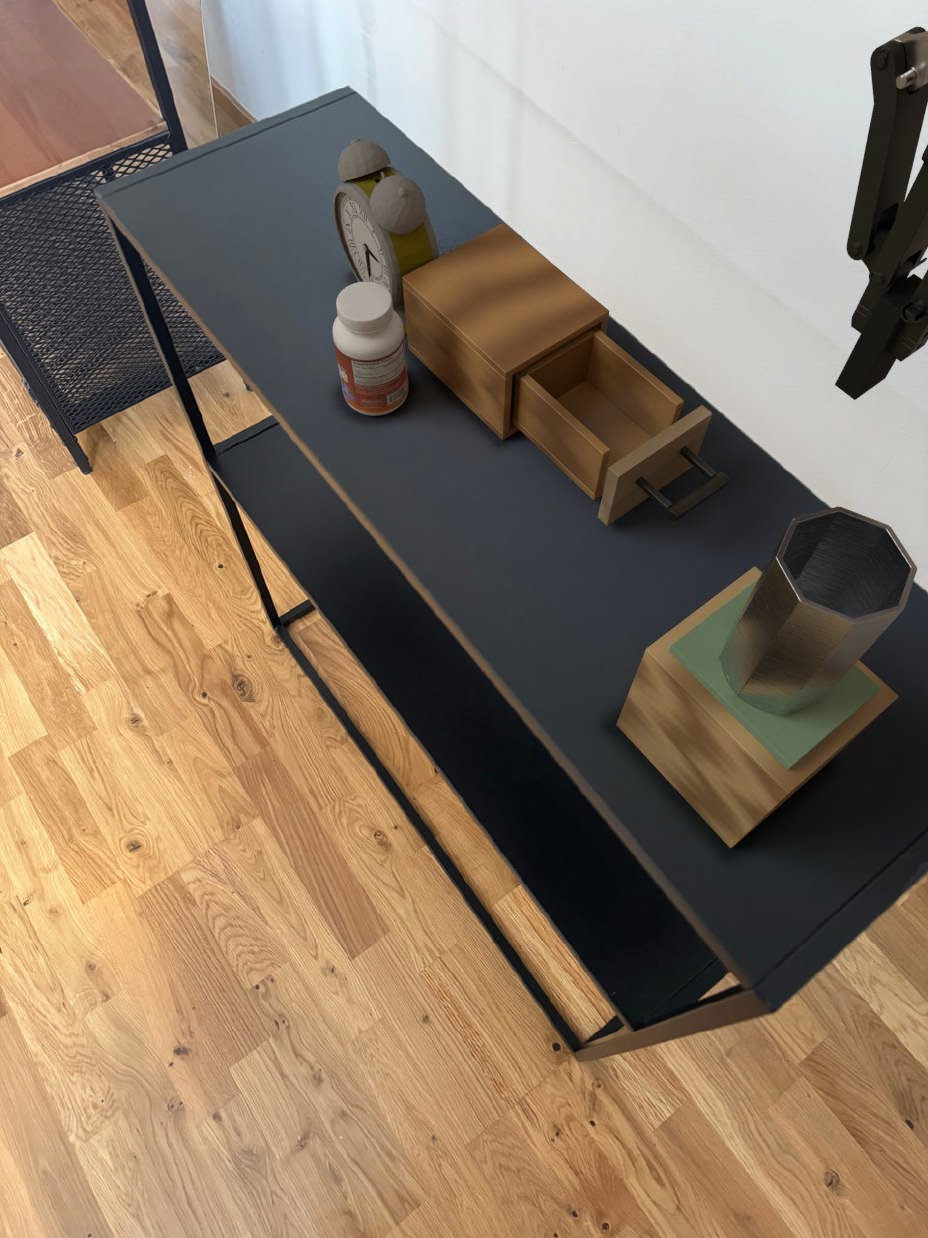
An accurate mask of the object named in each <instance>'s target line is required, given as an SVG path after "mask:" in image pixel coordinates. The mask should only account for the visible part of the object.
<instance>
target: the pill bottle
mask: <svg viewBox="0 0 928 1238" xmlns="http://www.w3.org/2000/svg"><path fill="white" fill-rule="evenodd" d="M335 305H336V306H335V307H336V312H337V313H336V314H337V316H336V317H335V319H334V321H333V325H332V339H333V345H334V350H335V357H336V361H337V367H338V373H339V379H340V383H341V389H342V390H341V391H342V393H343V398H344V399H345V402H346V404H347V405H348V406H349V407H350V408H351V409H352V410H354V411H355V412H357V413H359V414H361V415H365V416H373V417H376V416H384V415H387V414H390V413H392V412H394V411H396V410H397V409H399V408H400V407H401V406H402V405H403V404H404V403H405V401H406V399H407V397H408V393H409V378H408V376H409V375H408V365H407V354H406V342H405V334H404V330H403V324H402V321H401V319H400V317H399V315H398V314H397V313H396V312H395V310H394V308H393V304H392V297H391V295H390V293H389V291H388V290H387V289H386V288H385V287H383V286H382V285H380V284H377V283H374V282H358V281H357V282H354V283H352V284H349V285H347V286H345V287H344V288H343V289H342V290H341V291H339V293H338V295H337V297H336V304H335Z"/></svg>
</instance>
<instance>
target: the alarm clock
mask: <svg viewBox="0 0 928 1238" xmlns="http://www.w3.org/2000/svg"><path fill="white" fill-rule="evenodd" d="M337 163H338V164H337V175H338V179H339V181H342V183H340V184H339V185H337V187H336V189H335V191H334V193H333V200H332V209H333V210H332V211H333V218H334V222H335V223H334V224H335V227H336V232H337V236H338V240H339V242H340V245H341V248H342V251H343V253H344V256H345V258H346V261H347V263H348V265H349V267H350V269H351V272H352V273H353V275H354V277H355V278H356V280H357V283H358V282H374V283H377V284H380V285H382V286H383V287H385V288H386V289H387V290H388V291H389V293H390V295H391V297H392V304H393V310H394V311H395V312H396V313H397V314H398V315H399V317H400V319H401V321H402V324H403V330H404V335H407V328H406V316H405V305H404V293H403V281H402V277H403V276H405V275H407V274H409V273H410V272H412V271H414V270H416V269H418V268H420V267H422V266H424V265H425V264H427V263H429V262H431V261H433V260H435V259H437V258H438V257H440V252H439V247H438V241H437V237H436V234H435V230H434V226H433V224H432V222H431V218H430V216H429V213H428V210H427V204H426V198H425V195H424V192H423V191H422V188H421V187H420V186H419V185H418V184H417V183H416V181H414V180H413V179H411V178H409V177H407V176H406V175H404V174H403V173H402V172H401V171H400V170H398V169H396V168H394V167H393V166H389V165H390V164H391V163H392V162H391V159H390V156H389V155H388V153H387V151H386V150H385V149H384V148H383V147H382V146H380V145H379V144H378V143H377V142H374V141H372V140H368V139H360V138H358V137H354V138H353V139H352V140H351V142H350V144H348V145H347V146H346V147H345V148H344V149H343V150H342V151H341V154H340V156H339V159H338V162H337Z"/></svg>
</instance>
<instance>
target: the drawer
mask: <svg viewBox="0 0 928 1238" xmlns="http://www.w3.org/2000/svg"><path fill="white" fill-rule="evenodd" d="M684 402H685V401H684V399H682V397H680V396H679V395H678V394H676V393H675V392H674V391H673V390H672V389H671V388H669V387H668V386H667V385H666V384H665V383H664V382H662V381H661V380H660V379H659V378H658V377H656V376H655V374H653V373H651V372H650V370H648V369H647V368H646V367H644V365H642V364H641V363H640V362H639V361H638V360H636V359H635V358H634V357H632V356H631V355H630V354H629V353H628V352H627V351H626V350H624V348H622V347H621V346H620V345H618V344H617V343H616V342H614V340H613V339H611V338H610V337H609V336H608V335H607V334H604V333H603V332H602V331H601V330H599V329H598V328H597V327H596V326H594V327H592V328H590V329H589V330H587V331H585V332H584V333H582V334H580V335H579V336H577V337H575V338H574V339H572V340H570V341H569V342H567V343H565V344H564V345H562V346H560V347H559V348H557V349H555V350H554V351H552V352H550V353H549V354H547V355H545V356H544V357H542V358H540V359H539V360H537V361H536V362H534V363H532V364H531V365H529V366H527V367H526V368H524V369H522V370H521V371H519V372H517V373H516V374H515V388H514V404H513V424H514V425H515V426H516V427H517V428H518V429H519V431H520V432H521V433H522V434H523V435H524V436H525V437H526V438H527V439H529V440H530V441H531V442H532V444H534V445H535V446H536V448H538V449H539V450H540V451H541V452H542V453H543V454H544V455H545V456H546V457H547V458H548V459H549V460H550V461H551V462H553V463H554V464H555V465H556V467H558V468H559V469H560V470H561V471H562V472H563V473H564V474H565V475H566V476H567V477H568V478H569V479H571V481H572V482H573V483H575V485H577V486H578V488H580V489H581V490H582V491H583V492H584V493H585V494H586V495H587V496H588V497H589V498H590V499H591V500H592V501H595V500H597V499H598V498H600V497H601V500H600V503H599V504H600V505H599V508H598V510H599V511H598V514H597V518H598V519H599V520H600V521H601V522H602V523H603V524H604V525H605V526H606V527H608V526H609V525H610V524H612V523H614V522H615V521H616V520H618V519H619V518H621V517H622V516H623V515H626V514H627V513H628V512H629V511H632V509H634V508H635V507H637V506H638V505H639V504H641V503H642V502H644V501H645V500H646V499H648V498H650V499H652V501H654V502H655V503H656V504H657V505H658V506H660V508H661V509H663V510H664V513H665V517H666V519H667V520H668V521H669V522H670V523H676V522H678V521H679V520H680V519H682V518H683V517H685V516H686V515H687V514H689V513H690V512H691V511H693V510H694V509H696V508H698V506H700V505H701V504H703V503H704V502H706V501H707V500H709V499H710V498H711V497H712V496H714V495H715V494H717V493H718V492H720V491H721V490H722V489H724V488H725V487H726V486H728V485H729V483H730V479H729V477H728V475H727V474H726V473H724V472H722V471H720V472H717V471H716V470H714V469H713V468H712V467H711V466H710V465H709V464H707V463H706V462H705V461H704V460H703V459H702V458H700V457H699V456H698V455H699V452H700V450H701V448H702V445H703V442H704V439H705V436H706V433H707V430H708V427H709V425H710V422H711V420H712V416H713V412H711V410H709V409H708V408H707V407H706V406H704V405H703V404H701V405H700V406H698V407H697V408H695V409H693V410H692V411H691V412H689V413H688V414H686V415H685V416H683V417H682V418H680V415H681V412H682V409H683V405H684ZM679 418H680V419H679ZM693 467H694V468H695V469H696V470H698V472H700V473H701V474H702V475H703V476H705V478H707V479H708V480H707V481H705V482H704V483H702V484H701V485H699V486H698V487H697V488H695V489H694V490H692V491H691V492H689V493H688V494H686V495H685V496H684V497H683V498H681V499H680V500H678V501H677V502H675V503H674V504H673V503H672V502H671V501H670V500H669V499H667V497H665V496H664V495H663V494H662V493H661V492H660V490H661V489H662V488H664V487H666V486H667V485H668V484H670V483H671V482H672V481H674V480H676V479H677V478H678V477H679V476H682V475H683V474H684V473H686V472H687V471H688V470H691V468H693Z"/></svg>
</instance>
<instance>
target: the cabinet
mask: <svg viewBox="0 0 928 1238" xmlns="http://www.w3.org/2000/svg"><path fill="white" fill-rule="evenodd" d="M402 281H403V293H404V305H405V316H406V328H407V334H406V340H407V348H408V350H409V351H410V352H411V353H412V354H413V355H414V356H415V357H416V358H417V359H418V360H419V361H421V363H423V365H424V366H425V367H427V368H428V370H430V372H432V374H434V375H435V376H436V377H437V379H439V380H440V381H441V382H442V383H443V384H444V385H445V386H446V387H447V388H448V389H449V390H450V391H451V392H452V393H453V394H454V395H455V396H456V397H457V398H458V399H459V400H460V401H461V402H462V403H463V404H464V405H466V407H468V408H469V409H470V411H472V412H473V413H474V414H475V415H476V416H477V417H478V419H480V420H481V421H482V422H483V423H484V424H485V425H486V426H487V427H488V428H489V429H490V430H491V431H492V432H493V433H494V434H496V436H497V437H498V438H499V439H500V440H501V441H505V440H506V439H508V438H509V437H511V436H512V435H515V434H516V433H517V432H519V431H520V430H519V429H518V428H517V427H516V426H515V425H514V424H513V404H514V388H515V374H516V373H517V372H519V371H521V370H522V369H524V368H526V367H527V366H529V365H531V364H532V363H534V362H536V361H537V360H539V359H540V358H542V357H544V356H545V355H547V354H549V353H550V352H552V351H554V350H555V349H557V348H559V347H560V346H562V345H564V344H565V343H567V342H569V341H570V340H572V339H574V338H575V337H577V336H579V335H580V334H582V333H584V332H585V331H587V330H589V329H590V328H592V327H594V326H596V327H597V328H598V329H599V330H601V331H602V332H603V333H604V334H605V335H607V328H608V323H609V317H610V310H609V309H608V308H607V307H606V306H604V305H603V304H602V303H601V302H600V301H599V300H597V299H596V298H595V297H594V296H592V295H591V294H590V293H588V291H586V290H585V289H584V288H583V287H582V286H580V285H579V284H578V283H576V282H575V281H574V280H573V279H572V278H570V277H569V276H568V275H567V274H566V273H565V272H563V271H562V270H561V269H560V268H559V267H557V266H556V265H555V264H554V263H553V262H551V261H550V260H549V259H548V258H546V257H545V256H544V255H543V254H541V253H540V252H539V251H538V250H536V249H535V248H534V247H533V246H532V245H531V244H529V243H528V242H527V241H526V240H524V239H523V238H522V237H521V236H520V235H518V234H517V233H516V232H514V230H512V229H511V228H510V227H509V226H508V225H506V224H505V223H504V222H502V223H500V224H498V225H497V226H495V227H492V228H490V229H488V230H487V231H485V232H484V233H481V234H479V235H477V236H476V237H474V238H472V239H470V240H469V241H466V242H465V243H463V244H461V245H459V246H457V247H455V248H453V249H452V250H450V251H448V252H446V253H444V254H442V255H439V257H438V258H437V259H435V260H433V261H431V262H429V263H427V264H425V265H424V266H422V267H420V268H418V269H416V270H414V271H412V272H410V273H409V274H407V275H405V276H403V277H402Z"/></svg>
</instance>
